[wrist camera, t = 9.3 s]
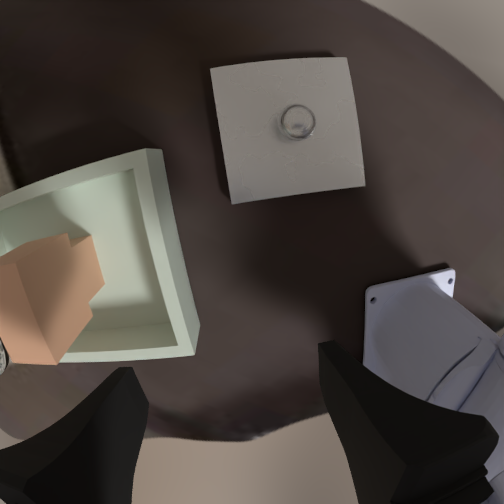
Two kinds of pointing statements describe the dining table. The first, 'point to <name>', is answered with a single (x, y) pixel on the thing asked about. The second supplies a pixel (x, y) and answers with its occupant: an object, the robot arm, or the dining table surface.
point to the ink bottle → (3, 357)
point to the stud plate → (288, 127)
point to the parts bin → (116, 253)
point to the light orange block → (47, 296)
